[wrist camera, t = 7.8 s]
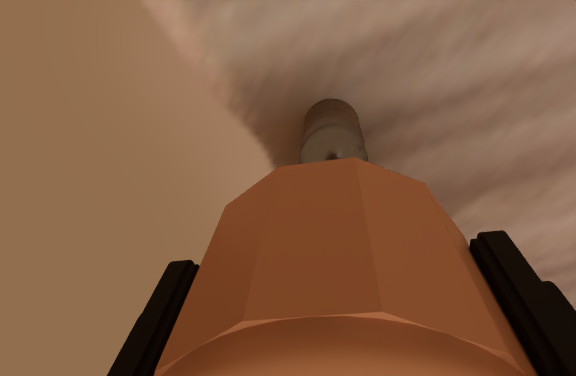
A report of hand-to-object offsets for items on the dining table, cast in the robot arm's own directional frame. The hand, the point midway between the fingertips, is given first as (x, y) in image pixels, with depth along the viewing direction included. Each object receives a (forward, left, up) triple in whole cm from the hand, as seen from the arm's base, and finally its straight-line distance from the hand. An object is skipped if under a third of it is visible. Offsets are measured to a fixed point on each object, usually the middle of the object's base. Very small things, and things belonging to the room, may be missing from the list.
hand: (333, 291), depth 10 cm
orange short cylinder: (0, 0, -1) cm, 1 cm away
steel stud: (0, 0, -14) cm, 14 cm away
